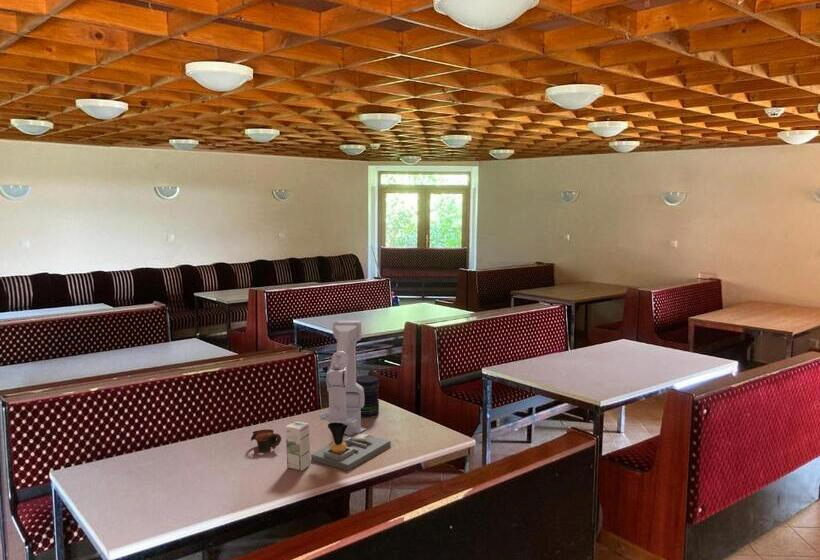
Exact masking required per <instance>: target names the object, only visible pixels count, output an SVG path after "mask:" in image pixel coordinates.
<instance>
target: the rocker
mask: <svg viewBox="0 0 820 560" xmlns="http://www.w3.org/2000/svg"><path fill="white" fill-rule="evenodd" d="M372 437H374V434H371V433H370V434H369V433H367V434H365V433H361V434H358V435H356V436H354V437H352V440H358V441H366V440H368V439H370V438H372Z"/></svg>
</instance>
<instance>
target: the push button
mask: <svg viewBox="0 0 820 560" xmlns="http://www.w3.org/2000/svg"><path fill="white" fill-rule="evenodd" d="M330 445H331V451H332V452H335V453H341V452H344V451H346V443H345V442H342V443H341V444H339V445H337V444H335V441H333V442H331V444H330Z"/></svg>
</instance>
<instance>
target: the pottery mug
mask: <svg viewBox="0 0 820 560" xmlns="http://www.w3.org/2000/svg"><path fill="white" fill-rule="evenodd" d="M274 432H275V431H274V430H273V429H269V428H268V429H267V428H266V429H258V430H255V431H252V436H251V438H250V442H252V441H253V440H254V441H256V443H257V446H255V447H253V452H254V454H255V455H256V454H267V453H269V454H270V453H271V450H275V449H276V448H277V447H278V446H279V445H280V444H281V442H282V436H281V435H280V434H279V433H274Z"/></svg>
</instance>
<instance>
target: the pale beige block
mask: <svg viewBox="0 0 820 560" xmlns="http://www.w3.org/2000/svg"><path fill="white" fill-rule="evenodd" d="M347 436H348V435H344V436H343V440H342V442H345V443H346V446H347V447H348V446H349V445H351V444H352V438H351V437H347Z"/></svg>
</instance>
